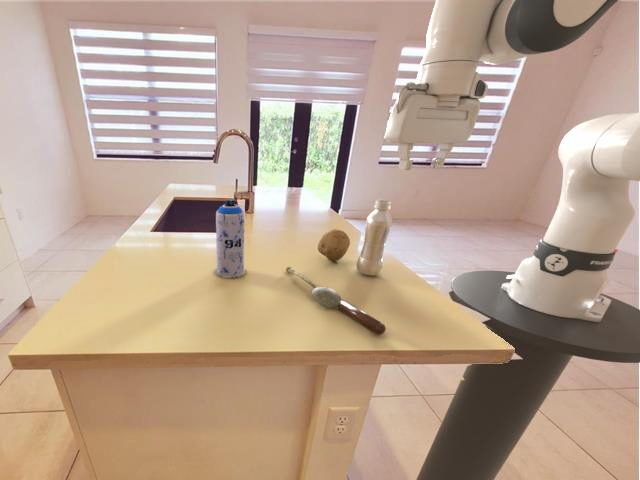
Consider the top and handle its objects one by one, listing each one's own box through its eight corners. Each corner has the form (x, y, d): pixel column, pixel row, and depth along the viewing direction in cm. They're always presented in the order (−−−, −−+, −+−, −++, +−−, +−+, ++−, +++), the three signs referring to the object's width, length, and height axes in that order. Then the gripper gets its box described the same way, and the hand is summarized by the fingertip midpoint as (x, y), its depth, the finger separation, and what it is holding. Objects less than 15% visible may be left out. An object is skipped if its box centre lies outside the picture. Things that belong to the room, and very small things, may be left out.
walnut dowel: (343, 306, 72) (344, 297, 71) (386, 335, 62) (389, 324, 61) (334, 309, 71) (336, 299, 70) (378, 338, 61) (380, 327, 60)
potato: (315, 264, 94) (319, 232, 90) (316, 254, 102) (320, 224, 97) (346, 267, 92) (353, 234, 88) (345, 257, 100) (350, 226, 95)
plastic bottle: (367, 267, 93) (382, 198, 83) (385, 276, 87) (403, 202, 78) (350, 271, 90) (364, 199, 81) (368, 280, 85) (384, 204, 76)
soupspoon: (321, 313, 70) (345, 309, 72) (324, 300, 69) (349, 297, 71) (278, 272, 88) (298, 270, 90) (279, 261, 86) (300, 260, 89)
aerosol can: (219, 279, 84) (218, 203, 75) (214, 268, 91) (211, 197, 82) (247, 276, 86) (249, 201, 77) (240, 265, 93) (240, 196, 83)
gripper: (419, 78, 49) (397, 172, 56) (494, 87, 57) (467, 168, 64) (386, 83, 54) (370, 169, 61) (459, 90, 62) (438, 165, 69)
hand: (420, 169), depth 62 cm, fingers open, 8 cm apart
